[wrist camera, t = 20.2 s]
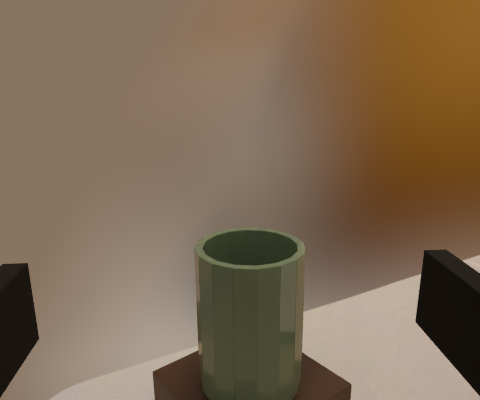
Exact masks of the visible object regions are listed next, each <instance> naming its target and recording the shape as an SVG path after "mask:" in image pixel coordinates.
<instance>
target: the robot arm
mask: <svg viewBox="0 0 480 400" xmlns="http://www.w3.org/2000/svg"><path fill="white" fill-rule="evenodd" d="M416 323H417V324H418V325H419V326H420V327H421V329H422V330H423V331H424V332H425V333H426V334H427V336H428V337H429V338H430V339H431V340H432V341H433V342H434V344H435V345H436V346H437V347H438V348H439V349H440V351H441V352H442V353H443V354H444V355H445V356H446V357H447V359H448V360H449V361H450V362H451V363H452V364H453V366H454V367H455V368H456V369H457V370H458V371H459V372H460V374H461V375H462V376H463V377H464V378H465V379H466V381H467V382H468V383H469V384H470V385H471V386H472V388H473V389H474V390H475V391H476V392H477V393H478V394H479V396H480V273H478V272H477V271H476V270H474V269H473V268H471V267H470V266H468V265H467V264H466V263H464V262H463V261H461V260H460V259H459V258H457V257H456V256H454V255H453V254H451V253H450V252H449V251H447V250H425V251H424V259H423V266H422V274H421V282H420V290H419V298H418V306H417V314H416ZM38 339H39V336H38V329H37V322H36V316H35V309H34V302H33V296H32V289H31V283H30V276H29V269H28V264H27V263H24V264H23V263H21V264H2V265H1V266H0V397H1V396H2V394H3V392H4V391H5V390H6V388H7V387H8V385H9V383H10V382H11V380H12V379H13V377H14V376H15V374H16V373H17V371H18V370H19V368H20V367H21V365H22V364H23V362H24V361H25V359H26V357H27V356H28V355H29V353H30V351H31V350H32V348H33V347H34V345H35V344H36V342H37V341H38Z"/></svg>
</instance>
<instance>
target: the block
mask: <svg viewBox="0 0 480 400" xmlns="http://www.w3.org/2000/svg"><path fill="white" fill-rule="evenodd" d="M153 380H154V394H155V400H209V399H208V397H207V396H206V395H205V393H204V392H203V389H202V386H201V377H200V373H199V350H198V351H196V352H194V353H192V354H190V355H188V356H185V357H183V358H181V359H179V360H177V361H175V362H173V363H170V364H168V365H166V366H164V367H162V368H160V369H158V370H155V371H153ZM350 398H351V384H350V383H349V382H347V381H346V380H344V379H343V378H341V377H339V376H338V375H336V374H335V373H333V372H332V371H330V370H328V369H327V368H325V367H324V366H322V365H321V364H319V363H318V362H316V361H314V360H313V359H311V358H310V357H308V356H307V355H305V354H304V353H302V364H301V380H300V387H299V390H298V392H297V394H296V396H295V397H294V398H293V399H292V400H350Z"/></svg>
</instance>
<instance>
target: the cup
mask: <svg viewBox="0 0 480 400" xmlns="http://www.w3.org/2000/svg"><path fill="white" fill-rule="evenodd" d="M195 273H196V298H197V323H198V348H199V373H200V377H201V386H202V389H203V392H204V393H205V395H206V396H207V397H208V399H209V400H292V399H293V398H294V397H295V396H296V394H297V392H298V390H299V387H300V380H301V364H302V335H303V306H304V277H305V245H304V243H303V242H302V241H300V240H299V239H298V238H297V237H295V236H293V235H290V234H288V233H285V232H281V231H277V230H271V229H265V228H237V229H228V230H223V231H219V232H216V233H212V234H209V235H207V236H206V237H204V238H202V239H200V240H199V241H198V243H197V245H196V247H195Z"/></svg>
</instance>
